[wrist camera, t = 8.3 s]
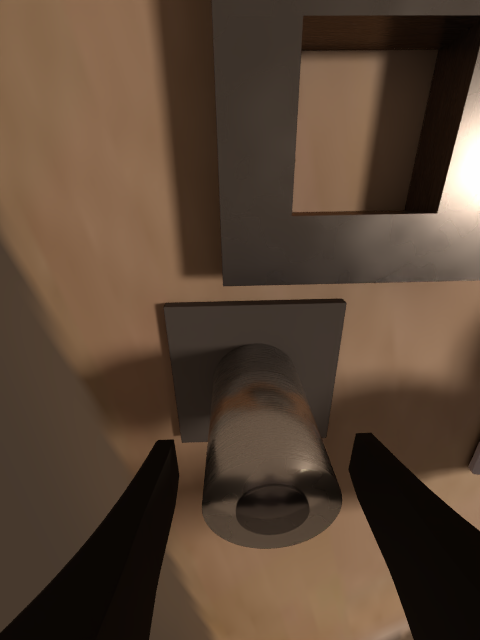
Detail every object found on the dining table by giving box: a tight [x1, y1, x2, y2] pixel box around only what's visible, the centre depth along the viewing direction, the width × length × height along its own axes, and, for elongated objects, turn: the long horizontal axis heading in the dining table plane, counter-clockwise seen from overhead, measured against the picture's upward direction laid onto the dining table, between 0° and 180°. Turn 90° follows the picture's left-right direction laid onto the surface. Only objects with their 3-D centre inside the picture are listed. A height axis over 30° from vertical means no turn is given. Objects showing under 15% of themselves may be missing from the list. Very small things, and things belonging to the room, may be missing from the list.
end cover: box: [202, 343, 342, 549], centre depth 12 cm, size 5×5×7 cm
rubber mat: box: [164, 299, 346, 443], centre depth 16 cm, size 9×9×1 cm
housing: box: [212, 0, 480, 286], centre depth 11 cm, size 11×11×2 cm
